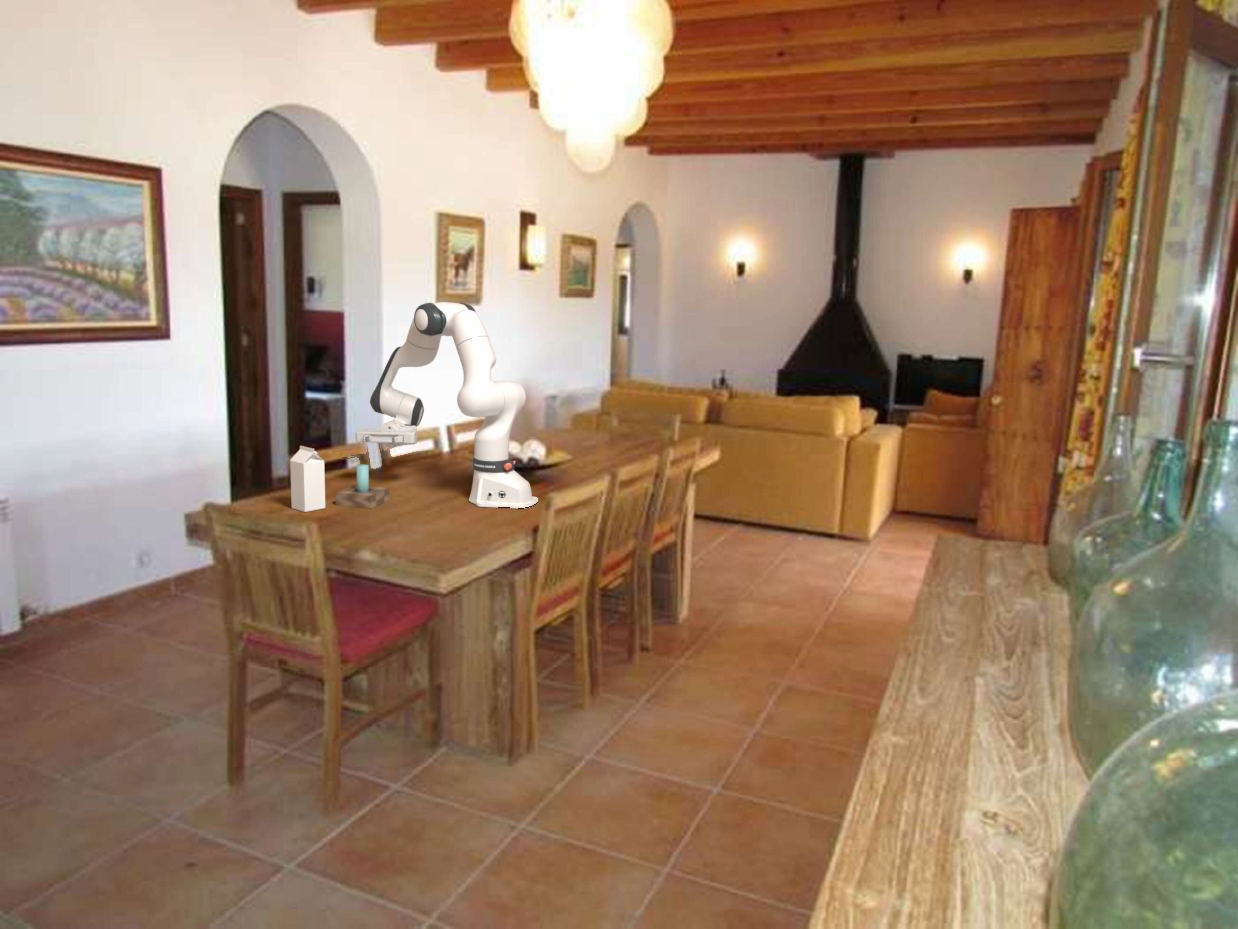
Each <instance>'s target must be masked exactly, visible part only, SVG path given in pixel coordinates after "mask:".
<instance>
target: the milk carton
mask: <svg viewBox="0 0 1238 929" xmlns="http://www.w3.org/2000/svg"><path fill="white" fill-rule="evenodd" d="M289 464H290V466H289V467H290V468H289V469H290V493H291V494H290V497H291V509H294V510H297V511H300V512H304V513H307V512H312V511H318V510H323V509H326V481H325V480H326V479H325V477H326V476H325V460H324V459H323V458H322V457H321V456H320V455H318V452H317V451H315V448H312V447H307V446H304V445H300V446H299V450H298V451H297V452H296V453H295V454H294V455H293V457H292V456H291V459H290V460H289Z"/></svg>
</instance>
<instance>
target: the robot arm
mask: <svg viewBox="0 0 1238 929" xmlns="http://www.w3.org/2000/svg"><path fill="white" fill-rule="evenodd" d="M442 336H443V337H452V339H453V343H454V346H455V349H456V352H457V354H458V357H459V360H460V363H461V367H462V372H463V382H462V386H461V388H460V390H459V391H458V393H457V396H456V397H457V398H456V403H457V408H458V409H459V411H460V412H461V413H462V414H463V415H464V416H465V417H466V416H467V417H472V418H484V420H483V422H482V424H481V426H480V427H479V428H478V430H477V431H476V432H475V433H474V439H473V440H474V441H473V442H474V443H473V447H474V449H473V450H474V457H473V458H472V474H473V476H472V477H473V478H472V484H471V491H470V495H469V498H468V501H469V502H470V503H472V504H474V505H475V506H477V507H483V508H498V507H510V508H509V509H518V508H524V509H526V508H525V507H529V506H532V505H534V504H536V503H537V502H538V503H539V498H538V497H537V496H533V494H532V488H531V485H530V482H529V481H528V480H526V479H525V478H524V477H523V476H521V475H520V474H519V473H518V472H517V471H515V464H516V460H512V459H511V458H510V457H509V455H510V453H509V450H510V449H509V448H510V435H511V431H512V427H513V424H514V421H515V418H516V417H517V415H518V413H519V412H520V411H521V410H522V408H523V407H525V406H524V405H525V403H526V399H527V398H526V397H527V396H526V395H527V394H526V392H525V388H524V387H523V386H522V385H521V384H520V383H519V382H515V381H510V380H498V381H494V380H493V378H492V369H493V368H494V366H496V363H497V357H496V354H495V351H494V348H493V346H492V342H491V340H490V337H489V334H488V332H487V330H486V327H485V325H484V323H483V321H482V319H481V318H480V316H479V314H478V313H477V311H476V309H475V308H474V307H473V306H472V305H471V304H468V303H464V302H448V301H439V302H425V303H422V304H420V305H418V306H417V307H416V309H415V311H414V316H413V319H412V321H411V324H410V326H409V329H408V332H407V336H406V339H405V342H404V343H403V345H402V346H398V347H396V348H395V349H394V350H393V351H392V353H391V354H390V357H389V359H388V360H387V363H386V364H385V366H384V370H383V371H382V374H381V376H380V378H379V380H378V382H377V384H376V386H375V389H374V390H373V392H372V393H371V395H370V397H369V404H370V406H371V409H372V410H373V411H374V412H375V413H378V414H381V415H385V416H388V417H392V418H394V419H392V420H389V421H387V422H385V423H383V424H382V425H381V426H380V427H379V429H374V428H373V429H371V428H370V429H361V430H357V431H355V442H356V443H373V444H374V443H377V444H383V446H385V447H387V448H388V447H389V448H395V447H401V446H405V445H406V446H407V445H408V446H409V445H416V444H417V443H418V427H419V426H420V424H421V422H422V419H423V416H424V412H425V407H424V403H423V401H422V399H421V398H420V397H418V396H415V395H412V394H409V393H406V392H403V391H401V390H398V389H396V388H394V387H393V386H392V384H393V383H394V380H395V377H396V376H397V374H398V371H399V369H401V368H420V367H425V366H427V365H429V364H431V363H433V362H434V360H435V359H436V357H437V354H438V352H439V349H440V345H441V339H442ZM538 503H537V504H538ZM537 504H536V505H537ZM534 506H535V505H534ZM532 507H533V506H532ZM529 508H530V507H529Z"/></svg>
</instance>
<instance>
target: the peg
mask: <svg viewBox="0 0 1238 929" xmlns="http://www.w3.org/2000/svg"><path fill="white" fill-rule="evenodd" d="M369 467H370V466H369V464H365V463H363V464H362V463H360V464H357V465H356V485H357V492H363V493H367V492H369V486H370V484H369V482H370V479H369V478H370V477H369V476H370V475H369V473H370V471H369V470H370V469H369Z"/></svg>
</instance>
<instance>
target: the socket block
mask: <svg viewBox="0 0 1238 929" xmlns="http://www.w3.org/2000/svg"><path fill="white" fill-rule="evenodd" d="M389 501H390V487H384V486H383V487H382V486H372V485H369V492H367V493H363V492H357V484H354V485H351V486H348V487H346V488H344V489H340V490H339V491H335V506H342V507H350V508H351V507H353V508H360V507H361V509H362V508H363V509H370V508H371V509H373V508H376V507H378V506H379V504H380V505H382V504H383V503H387V502H389ZM381 503H382V504H381ZM377 505H378V506H377Z"/></svg>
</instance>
